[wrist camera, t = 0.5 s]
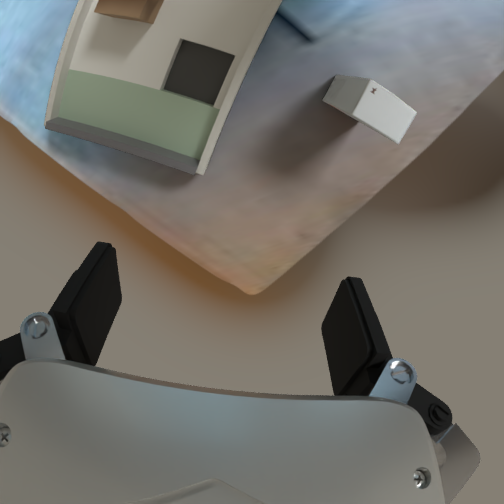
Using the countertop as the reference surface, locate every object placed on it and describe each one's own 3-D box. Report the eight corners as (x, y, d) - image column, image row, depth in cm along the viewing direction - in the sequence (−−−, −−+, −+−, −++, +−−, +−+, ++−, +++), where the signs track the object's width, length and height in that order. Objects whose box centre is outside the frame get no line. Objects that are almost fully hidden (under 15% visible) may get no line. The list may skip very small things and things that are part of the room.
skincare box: (320, 101, 34) (349, 114, 24) (335, 74, 32) (370, 76, 22) (360, 123, 35) (399, 146, 25) (374, 97, 33) (419, 111, 23)
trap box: (135, -76, 17) (123, -88, 13) (305, -41, 22) (312, -54, 18) (59, 119, 33) (39, 127, 29) (207, 165, 39) (202, 178, 35)
